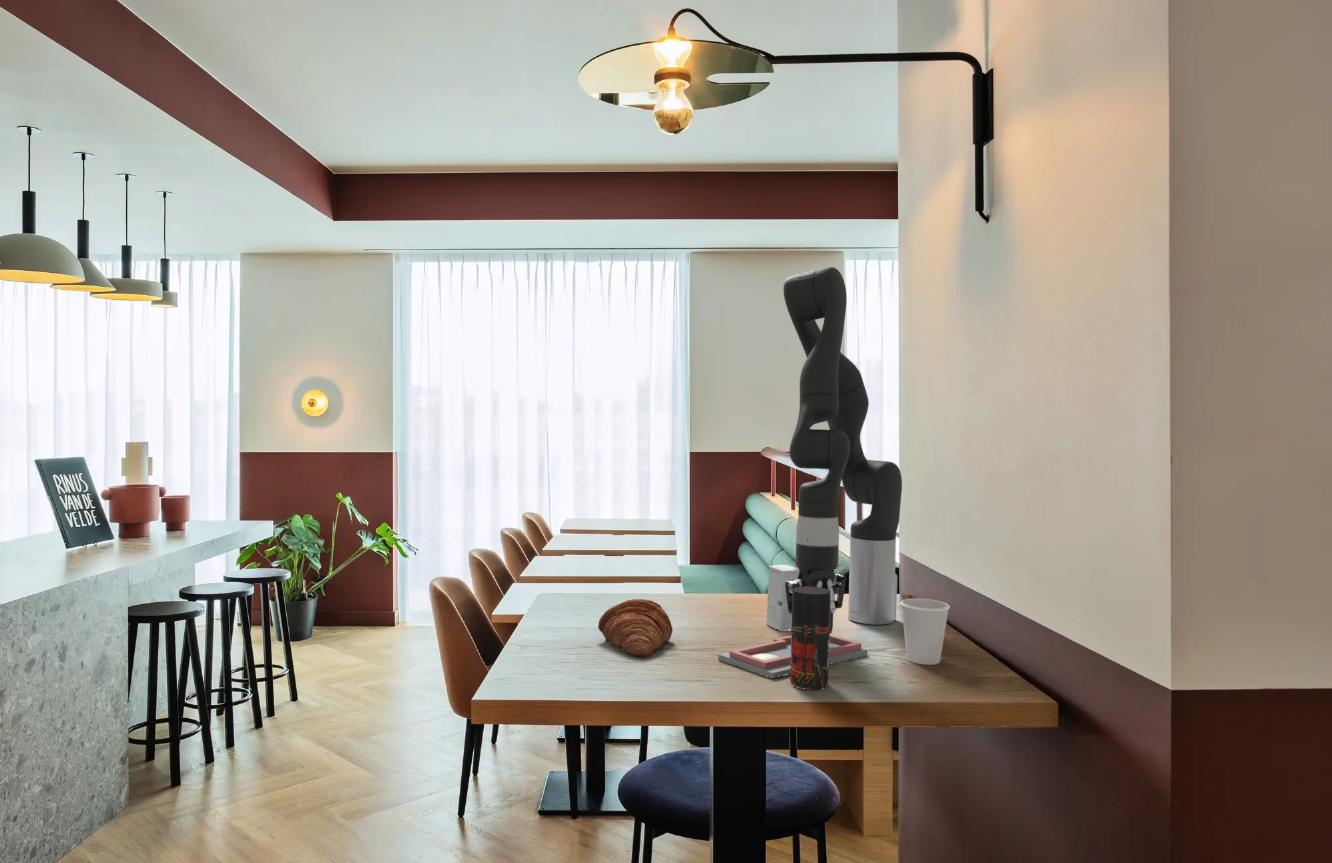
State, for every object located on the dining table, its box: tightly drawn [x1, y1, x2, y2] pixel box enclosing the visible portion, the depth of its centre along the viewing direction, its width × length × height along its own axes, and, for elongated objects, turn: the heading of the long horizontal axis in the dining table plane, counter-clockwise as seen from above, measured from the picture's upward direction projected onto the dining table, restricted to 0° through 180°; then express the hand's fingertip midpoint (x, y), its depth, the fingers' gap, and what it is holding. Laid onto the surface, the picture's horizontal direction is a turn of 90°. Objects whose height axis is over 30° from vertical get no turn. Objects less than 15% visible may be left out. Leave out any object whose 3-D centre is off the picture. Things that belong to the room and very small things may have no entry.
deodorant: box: [789, 587, 831, 691], centre depth 140 cm, size 6×6×15 cm
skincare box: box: [765, 564, 799, 632], centre depth 177 cm, size 6×4×12 cm
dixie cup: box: [900, 598, 951, 666], centre depth 156 cm, size 8×8×10 cm
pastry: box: [597, 598, 673, 658], centre depth 164 cm, size 17×15×8 cm
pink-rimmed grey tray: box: [717, 634, 868, 679], centre depth 155 cm, size 24×13×2 cm, turn 129°
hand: (814, 634), depth 159 cm, fingers closed on supplement bottle, 5 cm apart
